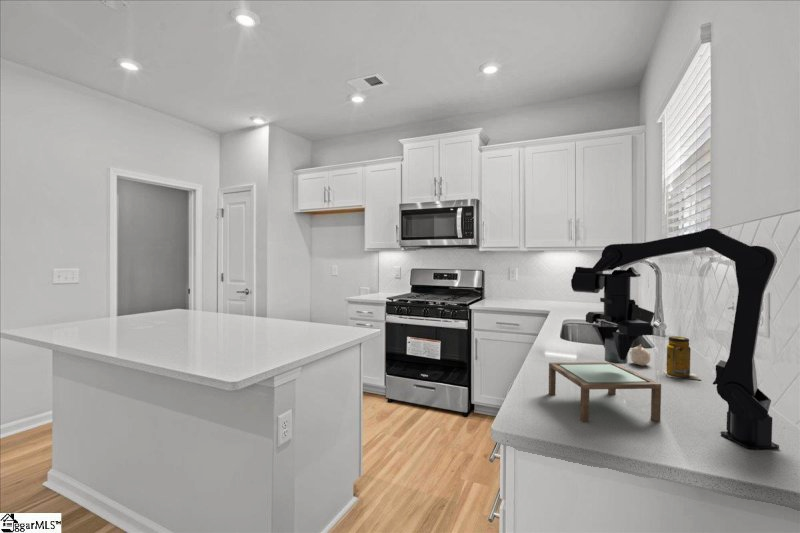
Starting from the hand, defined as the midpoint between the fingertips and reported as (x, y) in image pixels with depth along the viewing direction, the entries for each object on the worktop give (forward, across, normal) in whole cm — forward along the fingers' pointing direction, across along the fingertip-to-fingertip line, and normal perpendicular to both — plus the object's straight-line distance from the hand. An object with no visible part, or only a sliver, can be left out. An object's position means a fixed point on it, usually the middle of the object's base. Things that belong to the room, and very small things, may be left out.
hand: (616, 356), depth 95 cm
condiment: (+13, +23, -36) cm, 45 cm away
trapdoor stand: (+12, 0, +4) cm, 13 cm away
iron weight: (+1, 0, 0) cm, 1 cm away
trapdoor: (+5, 0, +4) cm, 6 cm away
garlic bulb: (+13, +35, -31) cm, 48 cm away
